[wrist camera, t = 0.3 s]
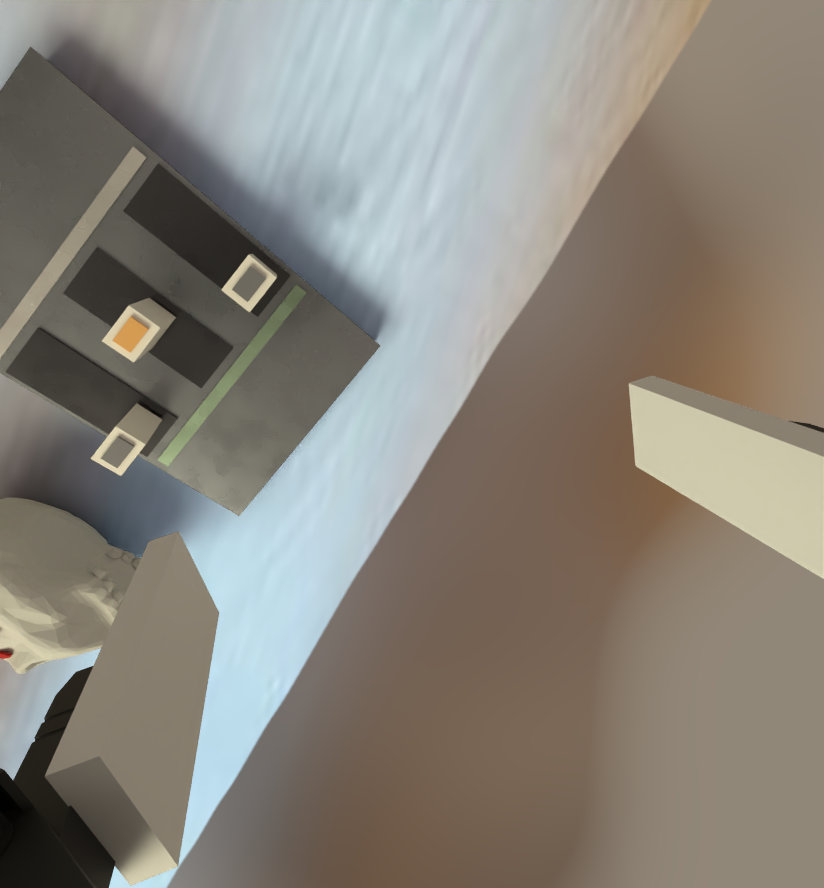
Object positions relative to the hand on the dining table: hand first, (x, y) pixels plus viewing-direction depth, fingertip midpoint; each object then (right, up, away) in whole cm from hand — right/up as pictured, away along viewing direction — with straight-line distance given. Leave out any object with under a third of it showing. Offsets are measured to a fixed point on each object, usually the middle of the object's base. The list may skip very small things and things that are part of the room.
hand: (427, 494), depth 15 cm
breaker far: (-18, +3, +19) cm, 26 cm away
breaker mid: (-16, +9, +17) cm, 25 cm away
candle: (-27, -6, +23) cm, 36 cm away
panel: (-17, +10, +20) cm, 28 cm away
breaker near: (-10, +12, +18) cm, 24 cm away
